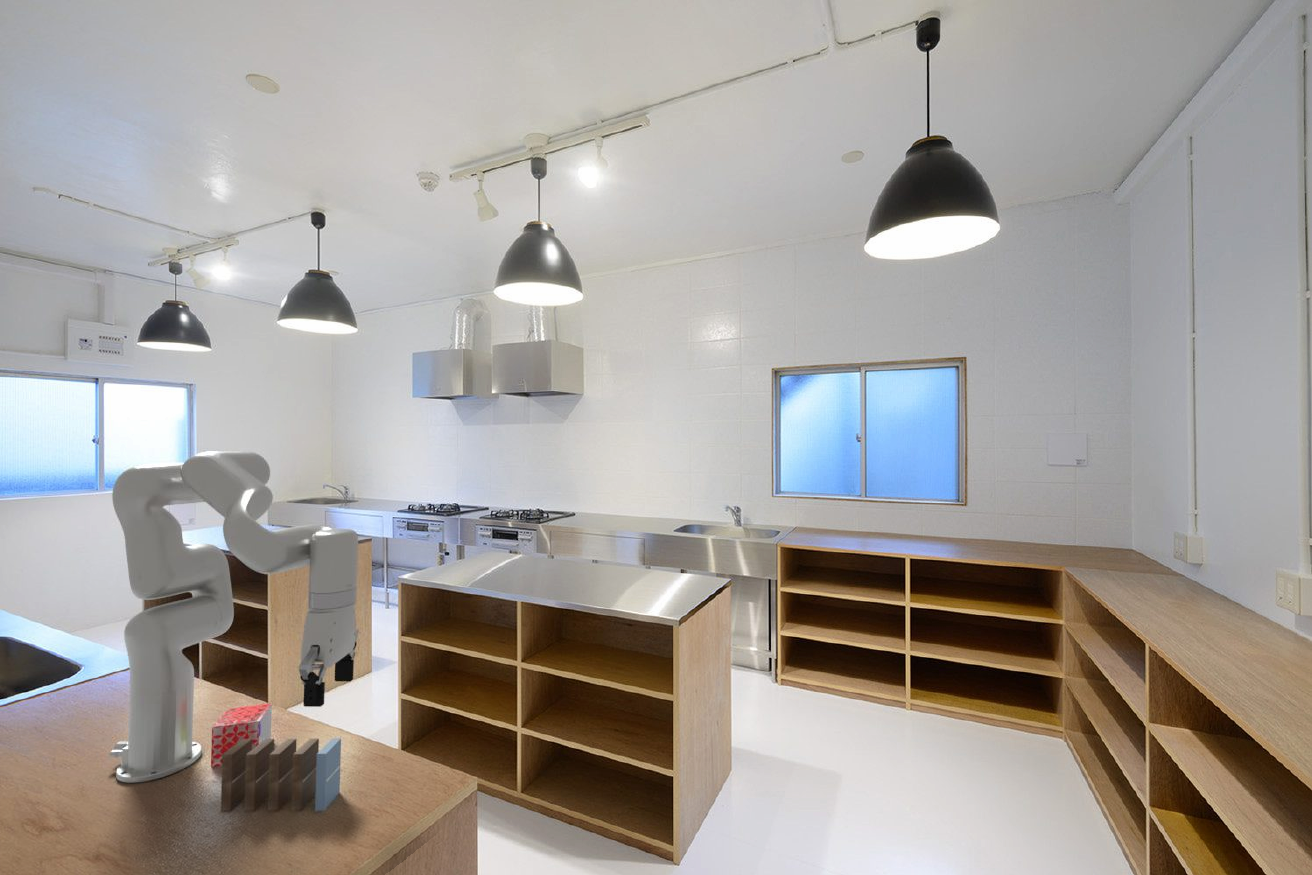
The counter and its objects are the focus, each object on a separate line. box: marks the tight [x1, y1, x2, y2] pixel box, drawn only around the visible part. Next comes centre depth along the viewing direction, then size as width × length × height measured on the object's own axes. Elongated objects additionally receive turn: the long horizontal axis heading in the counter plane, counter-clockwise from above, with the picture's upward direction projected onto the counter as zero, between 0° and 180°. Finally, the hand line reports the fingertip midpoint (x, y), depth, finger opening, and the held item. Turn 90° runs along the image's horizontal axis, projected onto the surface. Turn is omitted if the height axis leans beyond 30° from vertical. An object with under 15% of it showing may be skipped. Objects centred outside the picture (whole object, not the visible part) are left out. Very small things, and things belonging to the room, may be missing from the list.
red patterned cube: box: [210, 702, 273, 768], centre depth 112 cm, size 8×8×8 cm
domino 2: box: [244, 738, 275, 813], centre depth 97 cm, size 2×5×10 cm, turn 3°
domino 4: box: [291, 738, 320, 812], centre depth 97 cm, size 2×5×10 cm, turn 3°
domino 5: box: [314, 737, 342, 812], centre depth 98 cm, size 2×5×10 cm, turn 3°
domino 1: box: [220, 739, 252, 813], centre depth 97 cm, size 2×5×10 cm, turn 3°
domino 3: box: [267, 738, 298, 813], centre depth 97 cm, size 2×5×10 cm, turn 3°
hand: (329, 692), depth 98 cm, fingers open, 9 cm apart
